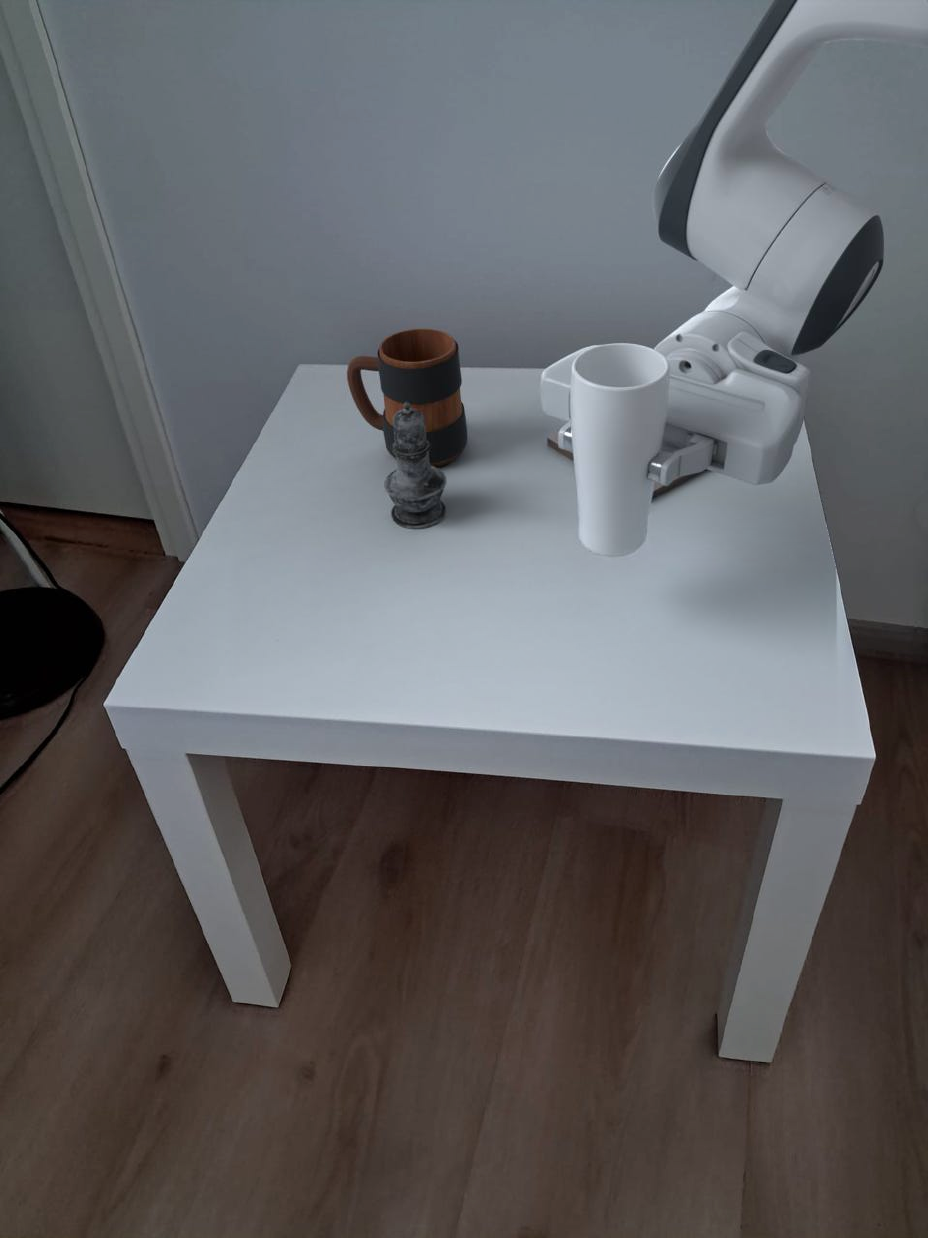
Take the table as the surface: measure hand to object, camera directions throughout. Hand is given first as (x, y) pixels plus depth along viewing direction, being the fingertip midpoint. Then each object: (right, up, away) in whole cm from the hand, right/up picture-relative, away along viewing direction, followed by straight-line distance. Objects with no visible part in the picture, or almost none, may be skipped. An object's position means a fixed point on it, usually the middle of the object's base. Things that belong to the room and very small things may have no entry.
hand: (610, 458), depth 68 cm
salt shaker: (-15, -1, +23) cm, 27 cm away
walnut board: (+8, +6, +29) cm, 30 cm away
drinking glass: (+1, -5, +6) cm, 8 cm away
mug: (-16, +6, +31) cm, 36 cm away
